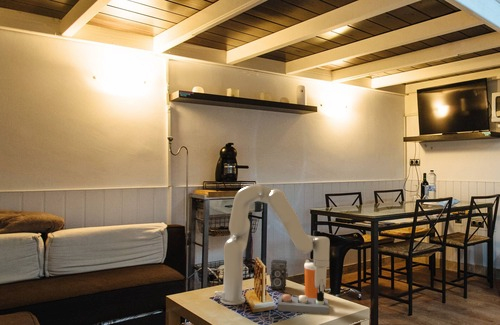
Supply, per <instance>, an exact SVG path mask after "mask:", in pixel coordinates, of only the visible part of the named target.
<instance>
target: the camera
mask: <svg viewBox="0 0 500 325" xmlns="http://www.w3.org/2000/svg"><path fill="white" fill-rule="evenodd" d="M287 262H288V261H287V260H286V259H285V260H282V259H272V261H271V262H270V273H269V281H270V289H272V290H282V291H284V290H285V289H286V287H287V280H288V279H289V273H287V272H288V268H287Z"/></svg>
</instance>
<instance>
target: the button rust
mask: <svg viewBox="0 0 500 325" xmlns="http://www.w3.org/2000/svg"><path fill="white" fill-rule="evenodd" d="M282 296H283V300H282V302H290V303H291V297H292V295H291V294H289V293H284V294H282Z"/></svg>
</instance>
